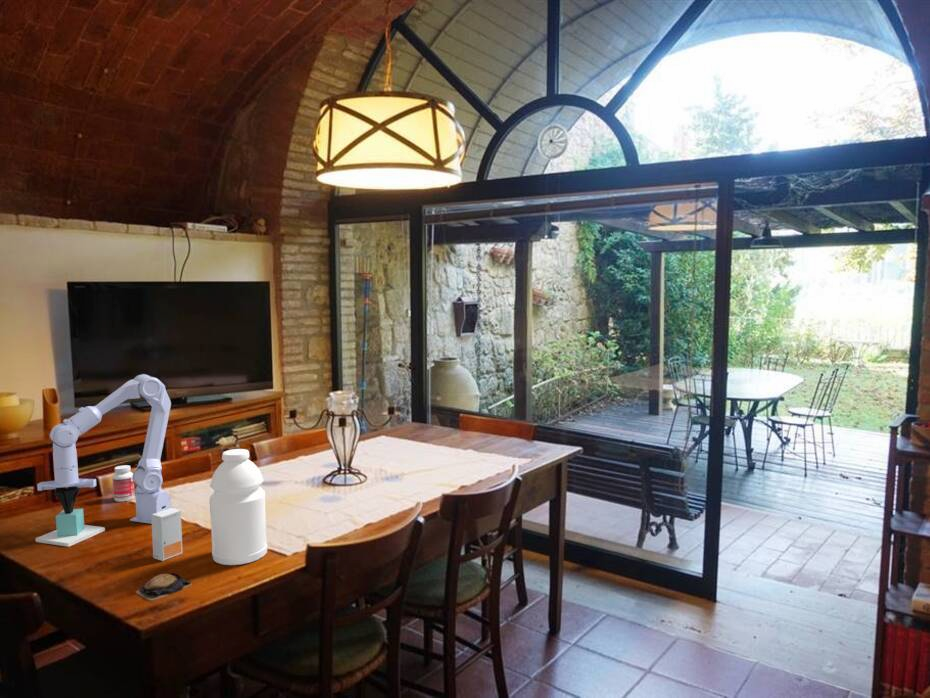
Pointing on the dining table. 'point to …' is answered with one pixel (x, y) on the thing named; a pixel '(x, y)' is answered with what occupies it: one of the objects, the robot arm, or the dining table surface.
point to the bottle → (237, 510)
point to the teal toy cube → (70, 523)
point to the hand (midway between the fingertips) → (69, 512)
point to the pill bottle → (123, 484)
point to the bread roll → (162, 586)
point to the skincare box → (166, 534)
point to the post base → (70, 540)
